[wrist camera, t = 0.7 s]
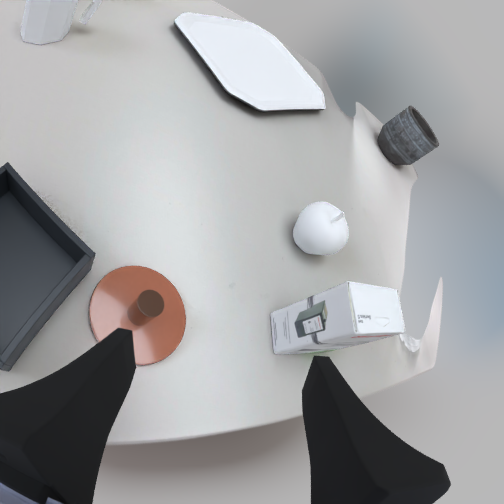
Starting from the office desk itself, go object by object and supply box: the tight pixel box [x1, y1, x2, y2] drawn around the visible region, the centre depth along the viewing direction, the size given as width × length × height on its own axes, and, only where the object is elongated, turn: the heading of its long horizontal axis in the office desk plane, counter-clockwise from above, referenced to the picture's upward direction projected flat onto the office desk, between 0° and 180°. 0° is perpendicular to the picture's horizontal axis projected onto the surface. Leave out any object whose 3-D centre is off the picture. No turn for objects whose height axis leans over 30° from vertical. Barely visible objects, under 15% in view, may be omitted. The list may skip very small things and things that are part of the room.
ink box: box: [270, 281, 405, 354], centre depth 32 cm, size 9×5×12 cm, turn 95°
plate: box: [174, 12, 326, 112], centre depth 55 cm, size 29×29×2 cm
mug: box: [20, 0, 102, 45], centre depth 29 cm, size 12×9×10 cm
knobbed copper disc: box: [89, 266, 186, 365], centre depth 25 cm, size 9×9×5 cm
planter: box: [378, 106, 439, 165], centre depth 70 cm, size 12×12×13 cm
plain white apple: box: [293, 201, 349, 255], centre depth 40 cm, size 7×7×8 cm
